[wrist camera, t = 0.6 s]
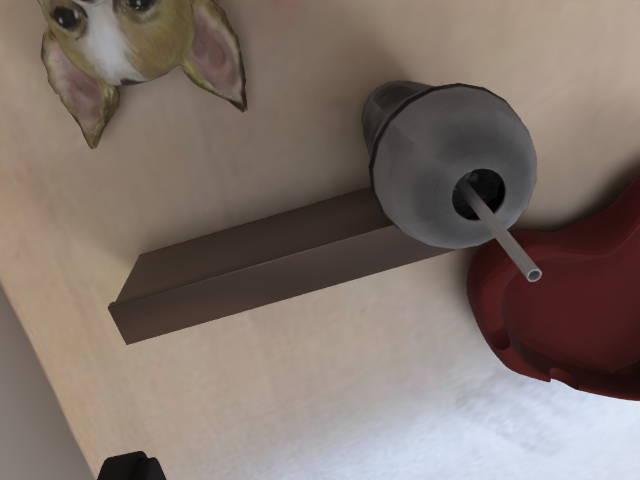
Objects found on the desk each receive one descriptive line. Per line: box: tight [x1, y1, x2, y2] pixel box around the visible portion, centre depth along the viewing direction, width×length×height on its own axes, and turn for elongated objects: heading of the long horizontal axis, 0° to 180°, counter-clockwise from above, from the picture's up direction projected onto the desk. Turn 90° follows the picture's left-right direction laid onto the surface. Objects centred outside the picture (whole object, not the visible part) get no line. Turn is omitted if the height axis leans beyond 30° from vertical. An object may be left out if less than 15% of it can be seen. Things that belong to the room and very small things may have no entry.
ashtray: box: [467, 176, 640, 401], centre depth 39 cm, size 18×16×5 cm
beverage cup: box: [362, 81, 542, 282], centre depth 26 cm, size 7×7×20 cm
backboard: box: [108, 187, 462, 345], centre depth 34 cm, size 3×20×8 cm, turn 106°
